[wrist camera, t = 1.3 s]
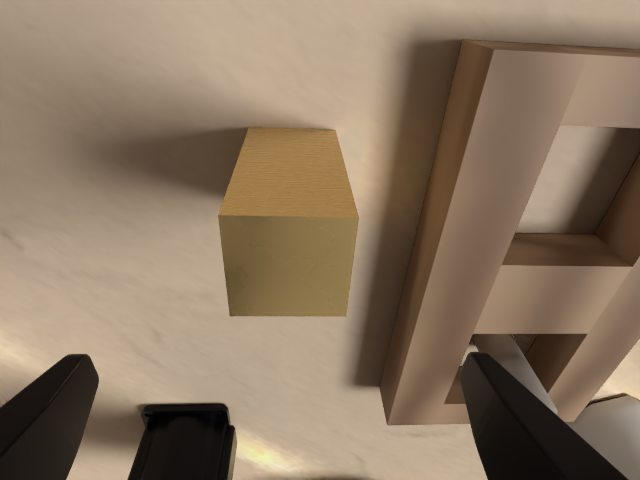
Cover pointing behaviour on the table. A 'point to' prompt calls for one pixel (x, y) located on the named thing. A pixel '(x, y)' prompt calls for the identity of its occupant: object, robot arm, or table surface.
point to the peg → (288, 225)
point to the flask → (613, 432)
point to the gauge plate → (517, 238)
